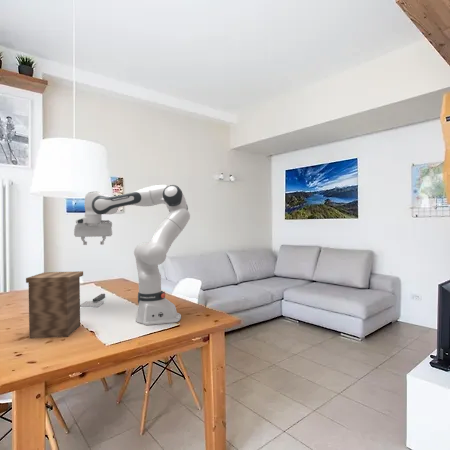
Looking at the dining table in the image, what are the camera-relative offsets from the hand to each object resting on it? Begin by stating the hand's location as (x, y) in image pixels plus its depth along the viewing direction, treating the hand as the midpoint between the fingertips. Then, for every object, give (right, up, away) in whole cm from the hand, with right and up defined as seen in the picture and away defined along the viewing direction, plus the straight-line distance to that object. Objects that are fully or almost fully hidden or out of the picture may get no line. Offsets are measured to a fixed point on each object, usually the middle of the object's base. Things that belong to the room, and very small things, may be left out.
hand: (93, 244), depth 178 cm
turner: (-6, -37, +17) cm, 41 cm away
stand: (-2, -37, -35) cm, 51 cm away
